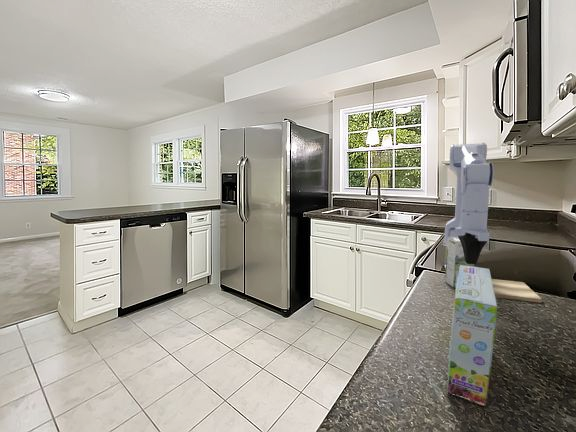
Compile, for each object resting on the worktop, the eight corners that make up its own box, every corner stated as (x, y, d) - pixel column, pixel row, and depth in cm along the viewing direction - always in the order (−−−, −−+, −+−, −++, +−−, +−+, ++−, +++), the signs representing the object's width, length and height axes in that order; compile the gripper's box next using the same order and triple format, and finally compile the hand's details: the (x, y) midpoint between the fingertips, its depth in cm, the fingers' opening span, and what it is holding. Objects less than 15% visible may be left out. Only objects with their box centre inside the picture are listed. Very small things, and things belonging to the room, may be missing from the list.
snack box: (491, 411, 40) (499, 306, 38) (445, 395, 43) (451, 297, 41) (485, 340, 58) (490, 266, 56) (452, 333, 61) (456, 262, 59)
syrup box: (463, 282, 92) (466, 236, 90) (473, 288, 86) (476, 240, 84) (444, 281, 92) (447, 236, 91) (453, 288, 86) (455, 240, 85)
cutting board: (469, 279, 94) (469, 276, 94) (523, 285, 88) (523, 282, 88) (478, 295, 81) (478, 291, 81) (541, 302, 76) (542, 299, 76)
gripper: (448, 208, 82) (445, 255, 83) (466, 213, 68) (463, 270, 69) (476, 208, 80) (473, 257, 82) (501, 214, 66) (496, 272, 68)
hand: (470, 263), depth 75 cm, fingers closed
